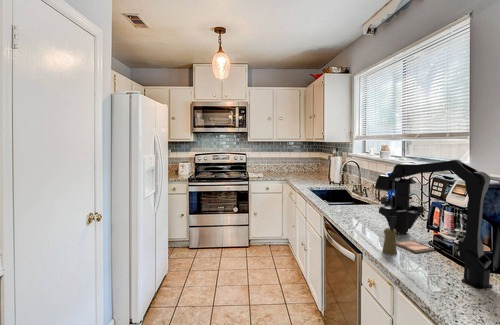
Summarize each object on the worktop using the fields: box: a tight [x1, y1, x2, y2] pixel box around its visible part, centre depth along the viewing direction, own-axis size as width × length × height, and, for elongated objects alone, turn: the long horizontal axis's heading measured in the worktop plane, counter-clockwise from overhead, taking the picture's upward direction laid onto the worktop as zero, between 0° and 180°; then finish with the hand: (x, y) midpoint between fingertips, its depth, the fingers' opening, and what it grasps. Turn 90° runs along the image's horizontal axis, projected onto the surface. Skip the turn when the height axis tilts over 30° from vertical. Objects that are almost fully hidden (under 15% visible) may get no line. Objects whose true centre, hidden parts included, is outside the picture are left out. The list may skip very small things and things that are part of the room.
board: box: [396, 238, 435, 255], centre depth 140 cm, size 12×20×1 cm, turn 108°
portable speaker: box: [392, 207, 409, 235], centre depth 160 cm, size 9×9×20 cm
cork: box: [381, 227, 398, 256], centre depth 132 cm, size 6×6×11 cm
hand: (400, 229), depth 123 cm, fingers open, 9 cm apart
